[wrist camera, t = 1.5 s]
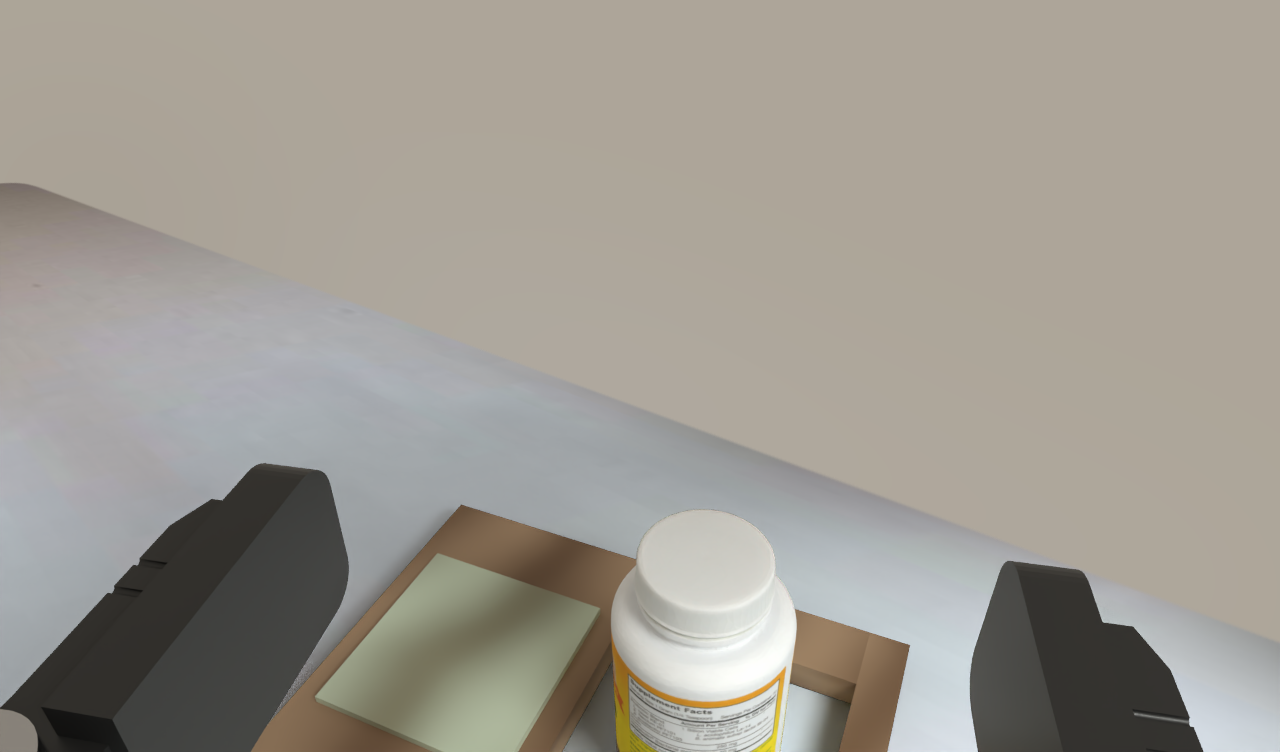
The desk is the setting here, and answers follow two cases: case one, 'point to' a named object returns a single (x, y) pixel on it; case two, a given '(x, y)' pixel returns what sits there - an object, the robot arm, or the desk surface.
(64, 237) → the desk surface
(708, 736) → the supplement bottle
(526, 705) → the puzzle board
